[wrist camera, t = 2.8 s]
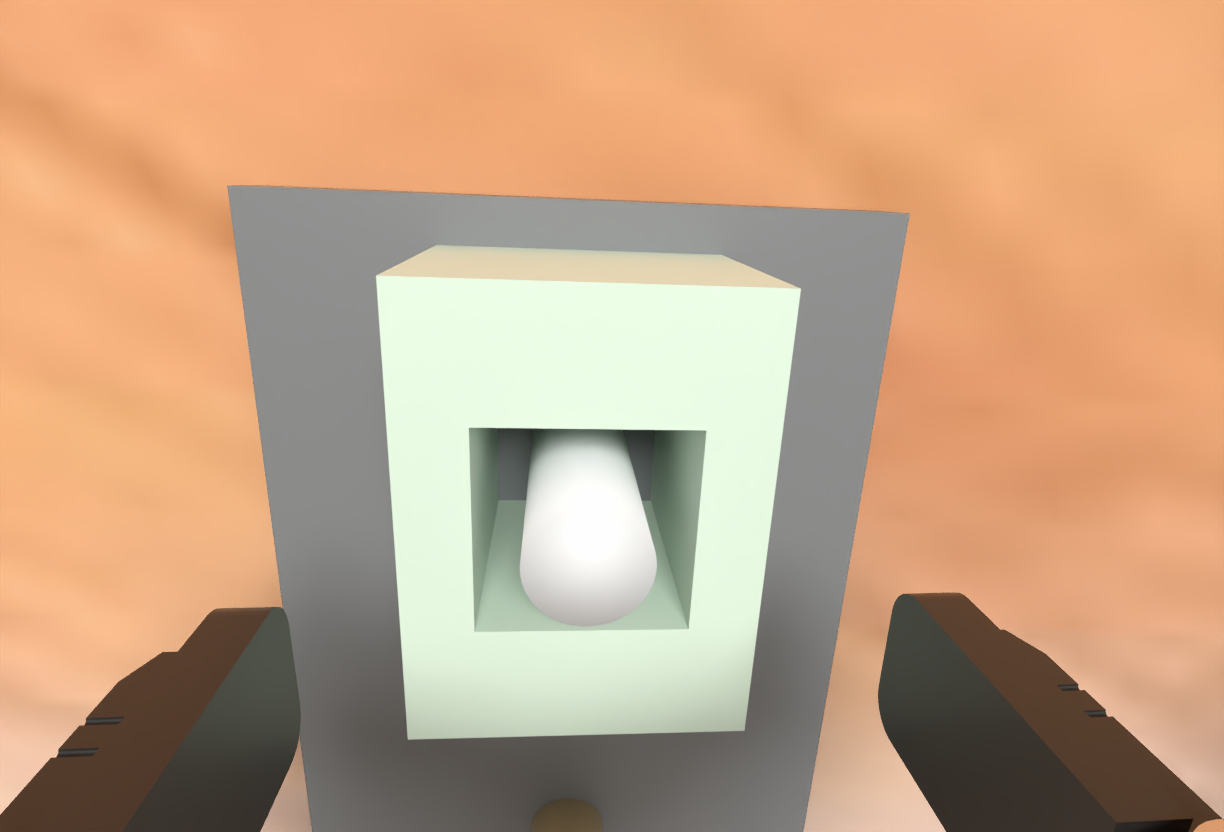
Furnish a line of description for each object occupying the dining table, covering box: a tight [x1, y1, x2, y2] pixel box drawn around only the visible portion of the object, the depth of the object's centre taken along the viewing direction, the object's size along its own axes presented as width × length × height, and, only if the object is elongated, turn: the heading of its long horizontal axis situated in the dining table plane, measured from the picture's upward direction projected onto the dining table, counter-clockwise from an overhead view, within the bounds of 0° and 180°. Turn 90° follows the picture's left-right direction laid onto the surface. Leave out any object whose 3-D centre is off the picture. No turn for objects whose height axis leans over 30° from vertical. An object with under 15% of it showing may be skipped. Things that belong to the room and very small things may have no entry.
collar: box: [376, 245, 801, 740], centre depth 13 cm, size 8×6×5 cm
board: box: [228, 185, 910, 832], centre depth 15 cm, size 22×14×8 cm, turn 178°
